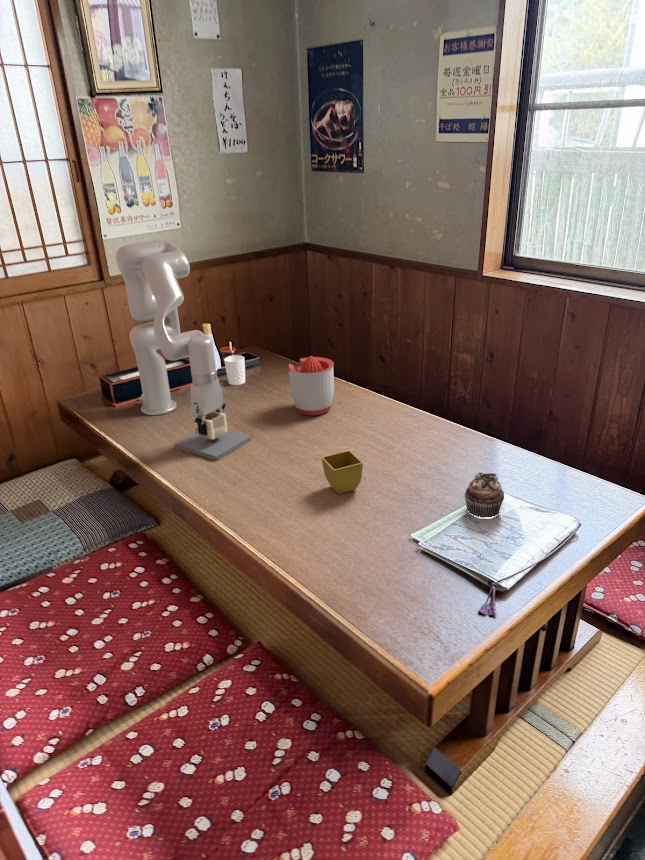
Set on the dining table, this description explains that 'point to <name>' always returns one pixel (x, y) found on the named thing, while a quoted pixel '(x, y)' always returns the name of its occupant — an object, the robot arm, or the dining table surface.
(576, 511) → the dining table surface
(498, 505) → the cupcake
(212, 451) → the grey board
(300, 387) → the citrus juicer
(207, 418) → the grey cylinder
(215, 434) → the birch collar
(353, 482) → the flower pot
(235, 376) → the white cup
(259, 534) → the dining table surface
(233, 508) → the dining table surface
